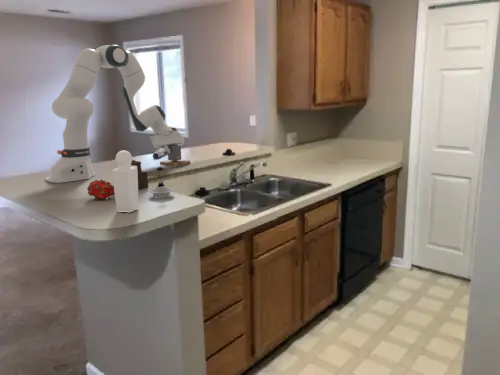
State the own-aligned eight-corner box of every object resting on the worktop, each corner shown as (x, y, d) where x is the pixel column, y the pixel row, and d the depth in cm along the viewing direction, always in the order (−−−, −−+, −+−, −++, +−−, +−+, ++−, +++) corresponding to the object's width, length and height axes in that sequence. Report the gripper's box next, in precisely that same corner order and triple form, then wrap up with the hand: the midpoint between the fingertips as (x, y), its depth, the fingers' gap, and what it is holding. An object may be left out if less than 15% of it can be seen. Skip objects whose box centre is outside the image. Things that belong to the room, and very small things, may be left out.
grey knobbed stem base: (161, 163, 180) (141, 167, 172) (177, 166, 173) (157, 170, 166) (163, 192, 182) (143, 197, 175) (179, 196, 176) (159, 201, 169)
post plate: (173, 166, 239) (172, 149, 236) (160, 164, 246) (159, 147, 244) (190, 163, 247) (189, 147, 245) (176, 161, 255) (175, 145, 253)
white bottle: (125, 208, 160) (120, 148, 155) (140, 209, 158) (136, 149, 153) (114, 213, 154) (109, 151, 148) (131, 214, 152) (126, 152, 147)
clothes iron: (131, 182, 202) (128, 153, 199) (149, 187, 191) (147, 157, 187) (115, 185, 196) (112, 155, 193) (133, 191, 185) (130, 160, 182)
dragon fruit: (87, 201, 175) (116, 206, 174) (80, 194, 167) (111, 198, 167) (93, 182, 178) (122, 186, 178) (86, 174, 170) (116, 178, 170)
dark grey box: (174, 160, 242) (174, 146, 240) (167, 159, 246) (166, 145, 244) (182, 159, 246) (181, 145, 244) (174, 158, 250) (173, 144, 248)
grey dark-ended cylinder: (151, 152, 264) (163, 141, 287) (152, 163, 267) (164, 151, 290) (159, 152, 264) (171, 141, 287) (160, 163, 266) (172, 151, 289)
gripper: (150, 131, 239) (162, 150, 235) (179, 128, 254) (191, 146, 250) (146, 138, 243) (158, 157, 239) (174, 135, 258) (186, 153, 254)
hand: (175, 151), depth 245 cm, fingers closed on dark grey box, 5 cm apart
